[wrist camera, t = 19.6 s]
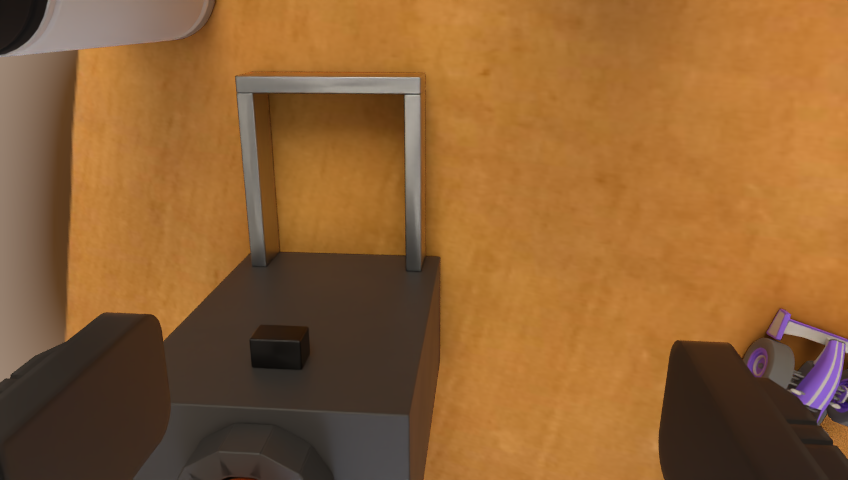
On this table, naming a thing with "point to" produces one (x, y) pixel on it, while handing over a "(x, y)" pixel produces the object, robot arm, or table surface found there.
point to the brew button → (242, 479)
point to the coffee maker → (306, 374)
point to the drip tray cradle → (274, 341)
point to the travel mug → (95, 23)
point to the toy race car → (804, 368)
